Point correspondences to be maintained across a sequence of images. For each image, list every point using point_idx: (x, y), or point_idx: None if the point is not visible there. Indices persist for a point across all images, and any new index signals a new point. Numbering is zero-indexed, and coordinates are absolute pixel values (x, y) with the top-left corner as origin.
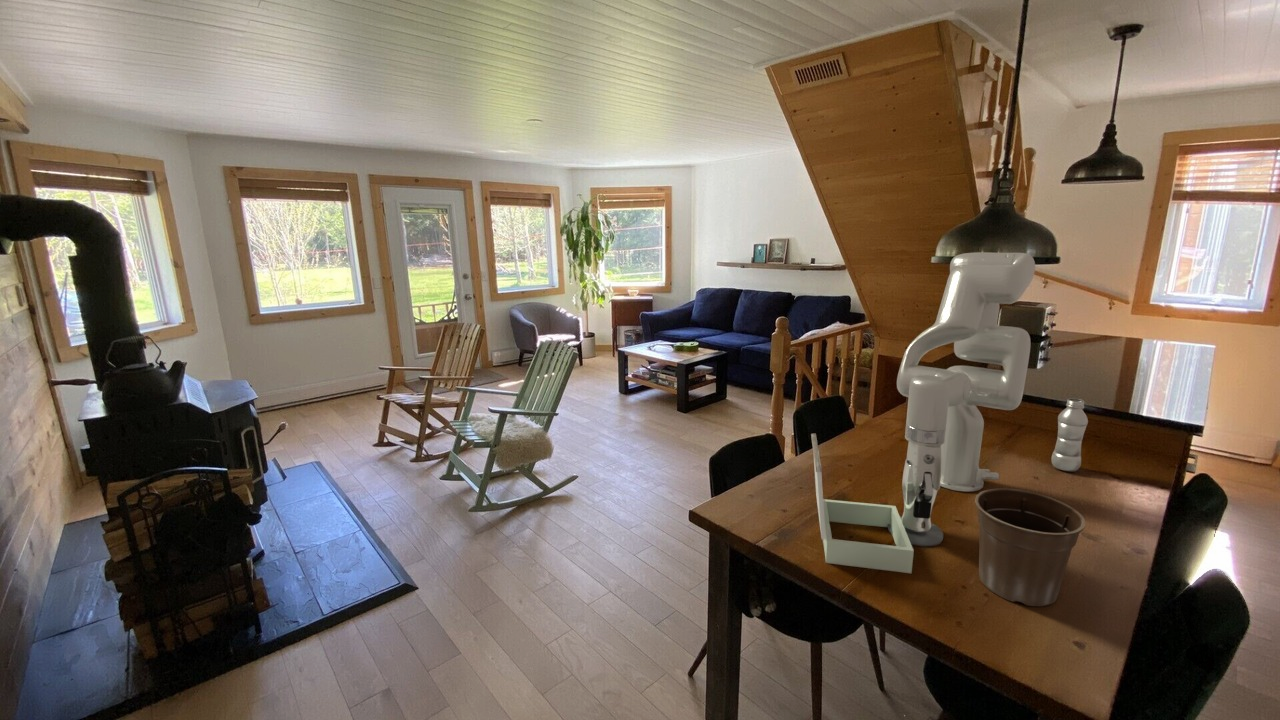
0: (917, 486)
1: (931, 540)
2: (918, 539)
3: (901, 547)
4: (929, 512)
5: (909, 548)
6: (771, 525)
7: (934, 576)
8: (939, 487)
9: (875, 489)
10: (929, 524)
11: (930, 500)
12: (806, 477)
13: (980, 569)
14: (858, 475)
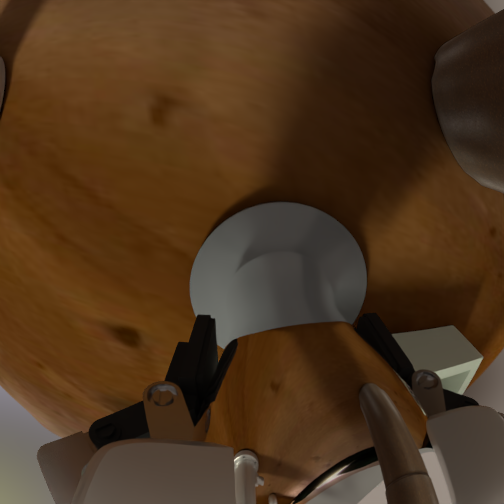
0: None
1: (351, 259)
2: (347, 298)
3: (467, 378)
4: (384, 331)
5: (474, 364)
6: None
7: (466, 282)
8: (501, 417)
9: (47, 327)
10: (320, 275)
11: (437, 385)
12: (79, 428)
13: (501, 192)
14: (13, 340)
